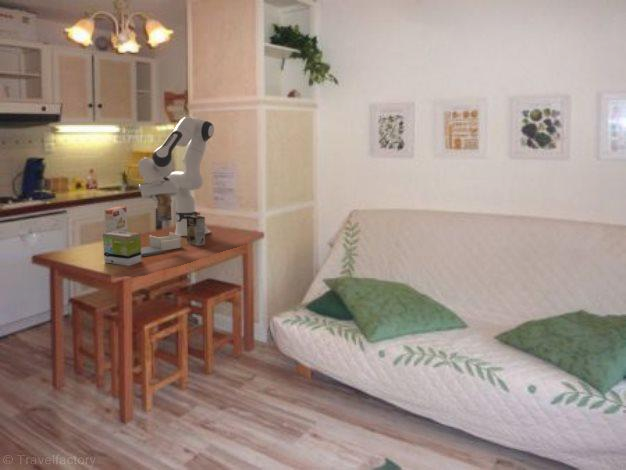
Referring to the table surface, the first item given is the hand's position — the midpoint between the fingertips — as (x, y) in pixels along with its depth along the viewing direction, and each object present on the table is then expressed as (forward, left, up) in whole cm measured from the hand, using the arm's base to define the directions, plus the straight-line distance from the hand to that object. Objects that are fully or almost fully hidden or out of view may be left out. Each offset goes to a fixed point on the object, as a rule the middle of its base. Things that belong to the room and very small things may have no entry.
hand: (164, 202), depth 301 cm
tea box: (+33, +15, -26) cm, 45 cm away
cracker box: (+16, -26, -26) cm, 40 cm away
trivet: (+15, +3, -25) cm, 30 cm away
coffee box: (-18, +2, -26) cm, 31 cm away
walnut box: (0, -1, -10) cm, 10 cm away
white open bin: (0, -1, -25) cm, 25 cm away
